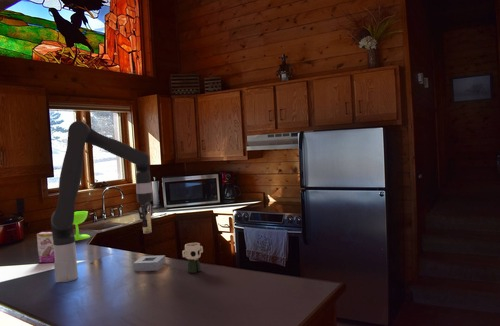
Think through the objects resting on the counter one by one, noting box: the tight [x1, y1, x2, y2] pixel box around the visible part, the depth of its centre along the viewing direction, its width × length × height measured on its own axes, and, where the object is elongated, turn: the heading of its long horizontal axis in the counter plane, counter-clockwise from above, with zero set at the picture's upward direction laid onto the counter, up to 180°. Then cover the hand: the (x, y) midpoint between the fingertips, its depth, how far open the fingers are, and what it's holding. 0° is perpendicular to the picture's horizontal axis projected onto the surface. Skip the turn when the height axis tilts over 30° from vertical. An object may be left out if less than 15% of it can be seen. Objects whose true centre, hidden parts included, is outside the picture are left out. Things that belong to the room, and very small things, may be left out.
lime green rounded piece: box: [73, 210, 91, 242], centre depth 282 cm, size 16×16×18 cm
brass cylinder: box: [142, 212, 152, 234], centre depth 198 cm, size 4×4×10 cm
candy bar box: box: [36, 231, 55, 264], centre depth 222 cm, size 11×5×16 cm, turn 84°
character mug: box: [181, 242, 204, 274], centre depth 186 cm, size 11×7×13 cm, turn 129°
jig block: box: [133, 255, 167, 272], centre depth 198 cm, size 12×12×4 cm
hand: (147, 226), depth 198 cm, fingers closed on brass cylinder, 4 cm apart
